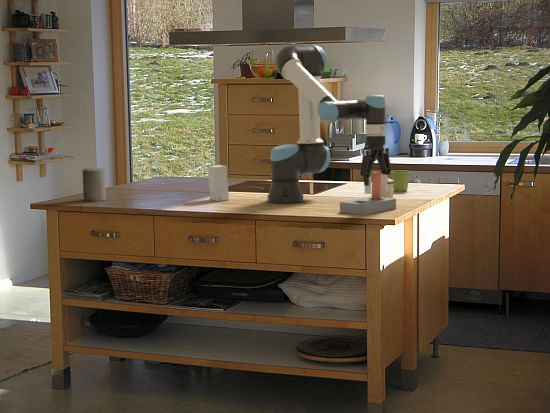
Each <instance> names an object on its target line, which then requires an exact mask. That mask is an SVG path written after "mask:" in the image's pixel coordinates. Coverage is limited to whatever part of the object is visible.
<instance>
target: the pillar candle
mask: <svg viewBox="0 0 550 413" xmlns="http://www.w3.org/2000/svg"><path fill="white" fill-rule="evenodd" d="M105 170H106V169H105V168H103V167H94V166H92V167H88V168H83V169H82V190H83V201H84V202H91V201H94V202H102V200H103V201H105V200H106V198H107V197H106V196H107V195H106V173H105Z"/></svg>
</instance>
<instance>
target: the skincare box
mask: <svg viewBox="0 0 550 413" xmlns="http://www.w3.org/2000/svg"><path fill="white" fill-rule="evenodd" d="M207 167H208V168H207V170H208V185H209V200H212V201H215V202H221V201H222V202H223V201H229V200H230V199H229V198H230V197H229V181H228V169H227V167H228V166H227V165H223V164H222V165H221V164H217V165H209V166H207Z"/></svg>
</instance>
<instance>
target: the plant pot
mask: <svg viewBox="0 0 550 413" xmlns="http://www.w3.org/2000/svg"><path fill="white" fill-rule="evenodd" d="M411 173H412V171H410V170H403V169H402V170H391V172H390V175H391V180H393V182H394V183H393V192H402V193H403V192H407V191H408V189H409V188H408V187H409V179H410V176H411Z"/></svg>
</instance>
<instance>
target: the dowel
mask: <svg viewBox="0 0 550 413" xmlns="http://www.w3.org/2000/svg"><path fill="white" fill-rule="evenodd" d="M381 174H382V172H381V171H371V182H372V183H371V196H372V200H380V199H381Z"/></svg>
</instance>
